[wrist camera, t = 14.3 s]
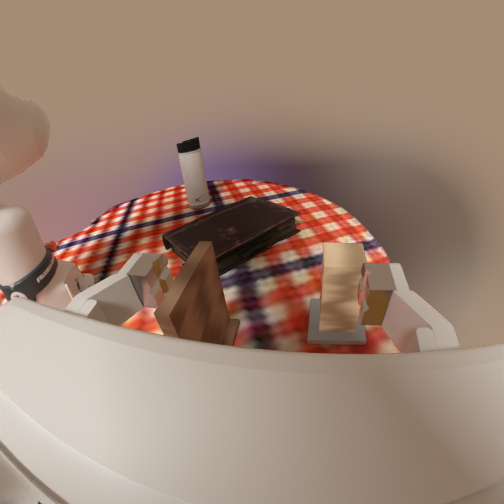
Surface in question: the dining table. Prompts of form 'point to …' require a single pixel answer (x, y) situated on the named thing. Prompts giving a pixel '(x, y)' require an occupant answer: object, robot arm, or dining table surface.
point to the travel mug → (193, 173)
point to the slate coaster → (332, 337)
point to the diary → (235, 232)
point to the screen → (197, 302)
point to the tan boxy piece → (340, 286)
